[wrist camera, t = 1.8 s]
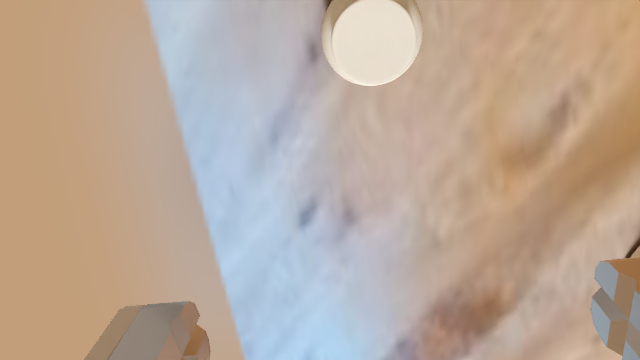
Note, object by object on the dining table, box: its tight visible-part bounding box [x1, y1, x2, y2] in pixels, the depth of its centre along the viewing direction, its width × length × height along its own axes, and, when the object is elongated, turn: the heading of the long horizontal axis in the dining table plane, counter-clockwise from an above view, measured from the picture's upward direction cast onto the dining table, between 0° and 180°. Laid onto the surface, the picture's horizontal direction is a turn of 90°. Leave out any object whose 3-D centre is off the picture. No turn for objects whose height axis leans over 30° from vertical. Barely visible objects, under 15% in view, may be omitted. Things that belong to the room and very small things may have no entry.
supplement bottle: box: [321, 0, 423, 86], centre depth 24 cm, size 5×5×10 cm
